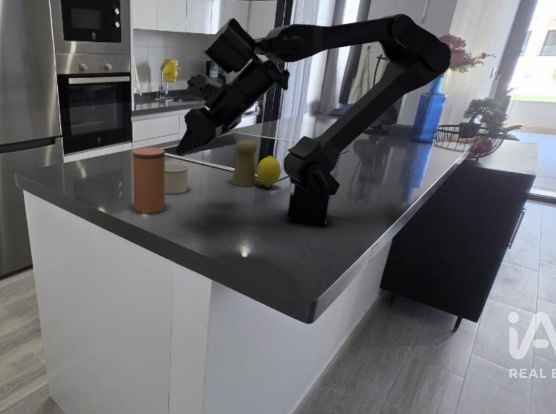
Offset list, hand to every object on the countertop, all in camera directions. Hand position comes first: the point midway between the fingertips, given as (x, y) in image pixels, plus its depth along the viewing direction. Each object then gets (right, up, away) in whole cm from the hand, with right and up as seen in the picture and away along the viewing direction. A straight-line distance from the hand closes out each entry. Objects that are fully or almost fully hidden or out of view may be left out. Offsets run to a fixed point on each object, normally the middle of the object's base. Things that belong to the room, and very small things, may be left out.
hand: (185, 148), depth 76 cm
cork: (+18, -6, +24) cm, 30 cm away
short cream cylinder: (-1, -7, +19) cm, 21 cm away
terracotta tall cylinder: (-7, -12, +7) cm, 16 cm away
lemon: (+23, -7, +20) cm, 31 cm away
